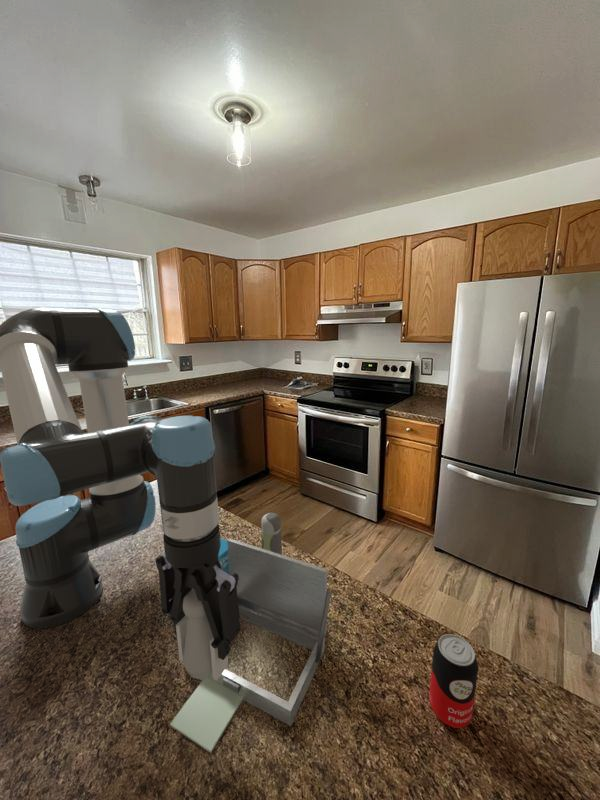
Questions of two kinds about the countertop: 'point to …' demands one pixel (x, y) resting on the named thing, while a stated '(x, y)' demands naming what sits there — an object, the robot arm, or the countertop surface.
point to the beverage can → (453, 680)
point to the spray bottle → (271, 533)
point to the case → (279, 616)
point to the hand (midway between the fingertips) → (203, 661)
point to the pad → (206, 714)
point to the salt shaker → (197, 638)
